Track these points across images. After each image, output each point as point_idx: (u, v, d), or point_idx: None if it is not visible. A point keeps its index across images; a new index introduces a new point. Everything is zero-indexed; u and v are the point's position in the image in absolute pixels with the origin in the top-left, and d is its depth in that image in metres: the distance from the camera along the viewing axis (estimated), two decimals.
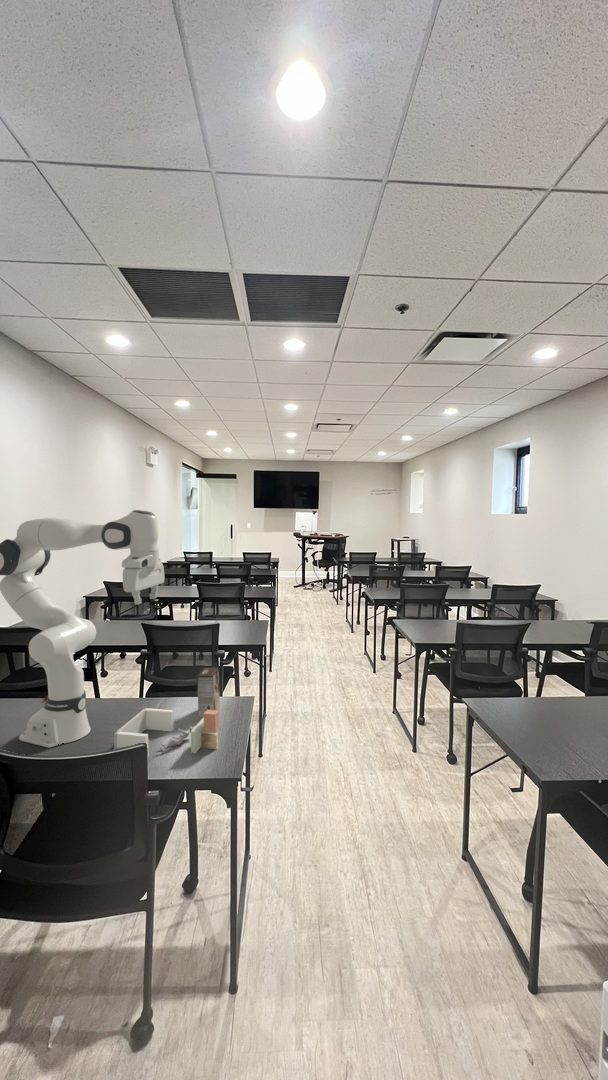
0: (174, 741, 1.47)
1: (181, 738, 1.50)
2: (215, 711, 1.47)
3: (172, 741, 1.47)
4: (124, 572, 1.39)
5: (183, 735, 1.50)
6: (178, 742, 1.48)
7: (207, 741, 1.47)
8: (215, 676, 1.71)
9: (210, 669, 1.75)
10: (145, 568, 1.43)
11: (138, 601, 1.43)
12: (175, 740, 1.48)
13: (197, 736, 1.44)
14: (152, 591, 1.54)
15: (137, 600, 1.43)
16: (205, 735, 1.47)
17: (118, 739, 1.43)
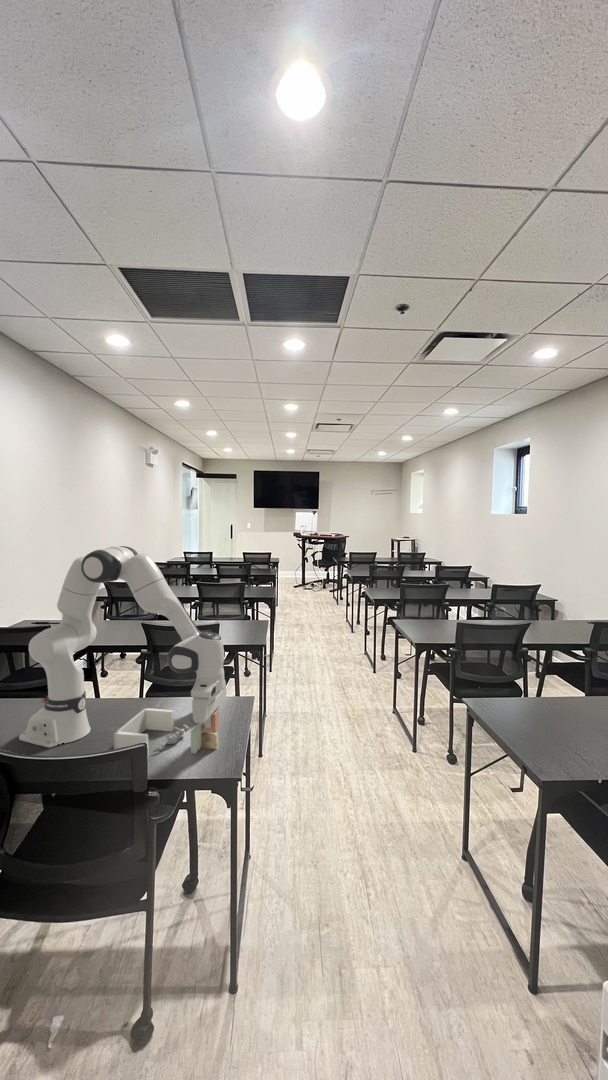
0: (171, 740, 1.48)
1: (177, 736, 1.51)
2: (215, 711, 1.47)
3: (169, 740, 1.48)
4: (194, 702, 1.38)
5: (179, 733, 1.52)
6: (174, 740, 1.49)
7: (207, 741, 1.47)
8: None
9: None
10: (213, 695, 1.41)
11: (209, 724, 1.44)
12: (172, 738, 1.49)
13: (197, 736, 1.44)
14: None
15: (208, 723, 1.44)
16: (205, 735, 1.47)
17: (118, 739, 1.43)
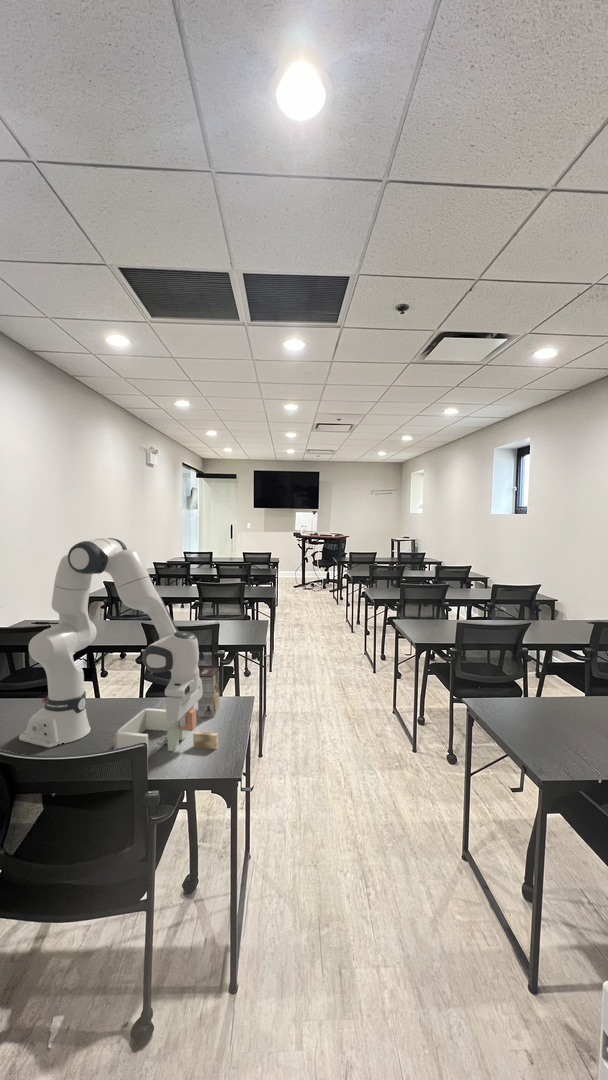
0: None
1: None
2: (192, 709, 1.49)
3: (167, 739, 1.48)
4: (167, 701, 1.39)
5: None
6: None
7: (207, 741, 1.47)
8: (215, 676, 1.71)
9: (210, 669, 1.75)
10: (187, 694, 1.43)
11: (183, 723, 1.46)
12: None
13: (174, 734, 1.45)
14: None
15: (183, 722, 1.46)
16: (205, 735, 1.47)
17: (118, 739, 1.43)
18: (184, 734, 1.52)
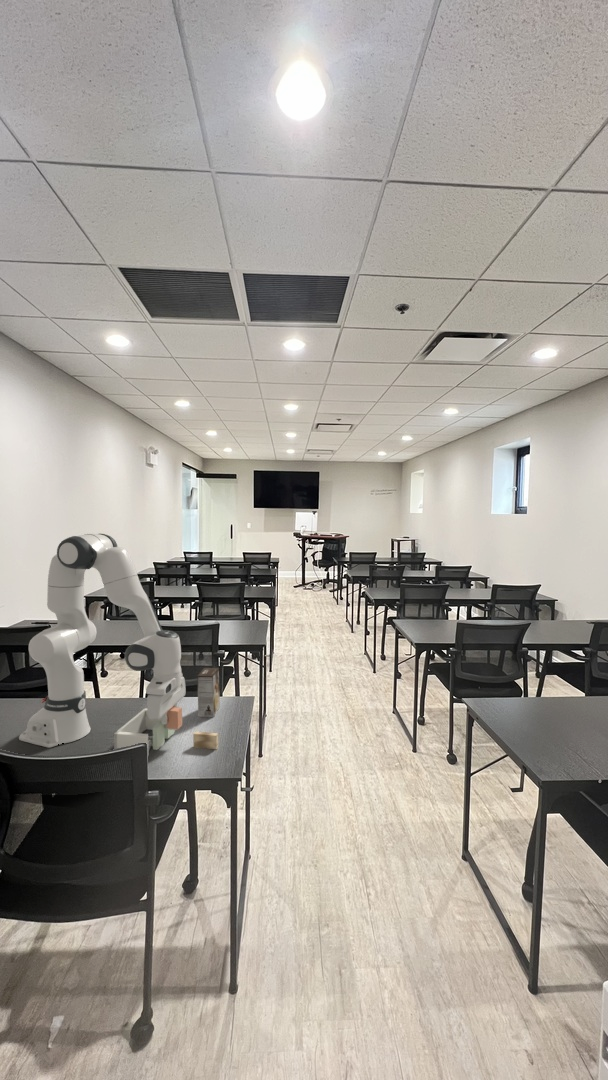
0: None
1: None
2: (178, 708, 1.50)
3: None
4: (148, 699, 1.40)
5: None
6: None
7: (207, 741, 1.47)
8: (215, 676, 1.71)
9: (210, 669, 1.75)
10: (169, 692, 1.44)
11: (165, 721, 1.47)
12: None
13: (159, 733, 1.46)
14: None
15: (164, 720, 1.47)
16: (205, 735, 1.47)
17: (118, 739, 1.43)
18: (170, 733, 1.53)
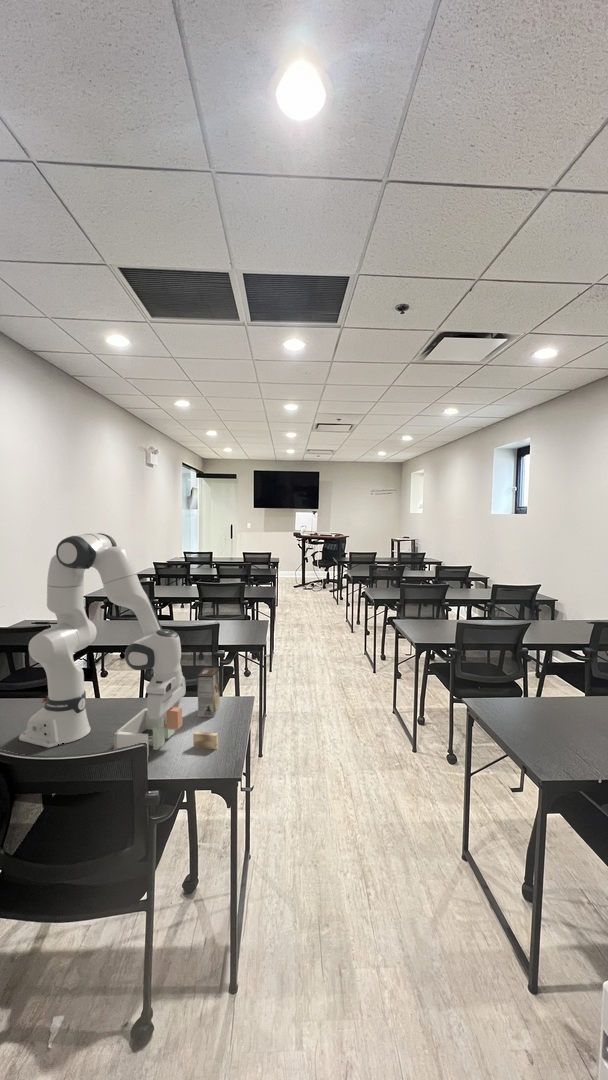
0: None
1: None
2: (178, 708, 1.50)
3: None
4: (148, 699, 1.40)
5: None
6: None
7: (207, 741, 1.47)
8: (215, 676, 1.71)
9: (210, 669, 1.75)
10: (169, 691, 1.44)
11: (162, 724, 1.44)
12: None
13: (159, 733, 1.46)
14: (174, 706, 1.55)
15: (161, 723, 1.44)
16: (205, 735, 1.47)
17: (118, 739, 1.43)
18: (170, 733, 1.53)
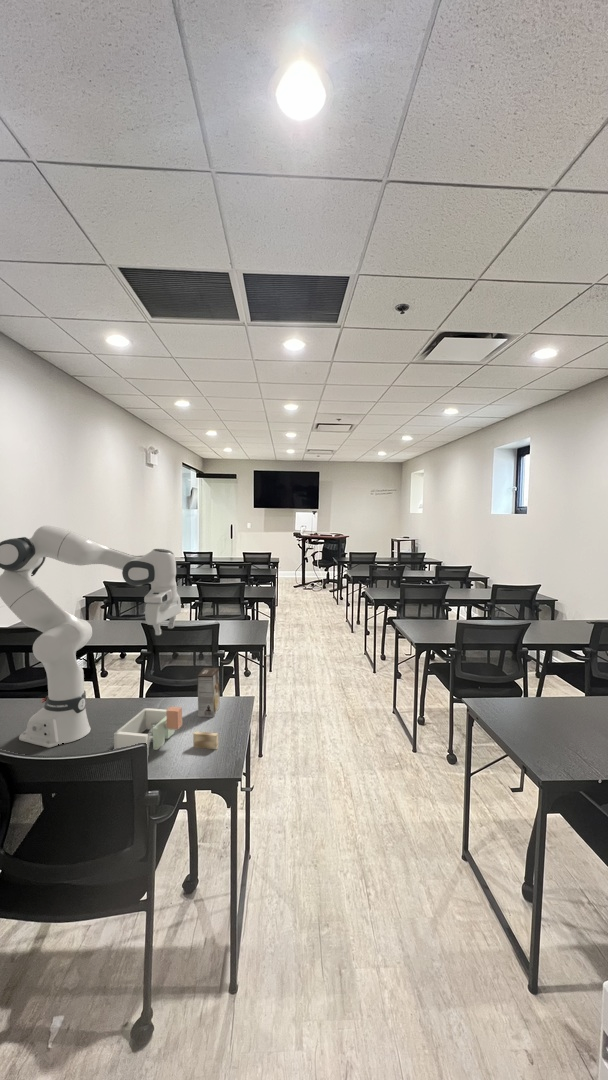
0: (151, 738, 1.50)
1: None
2: (178, 708, 1.50)
3: (150, 738, 1.49)
4: (146, 607, 1.54)
5: None
6: None
7: (207, 741, 1.47)
8: (215, 676, 1.71)
9: (210, 669, 1.75)
10: (165, 602, 1.58)
11: (158, 632, 1.58)
12: (152, 737, 1.50)
13: (159, 733, 1.46)
14: (170, 621, 1.68)
15: (158, 631, 1.58)
16: (205, 735, 1.47)
17: (118, 739, 1.43)
18: (170, 733, 1.53)
